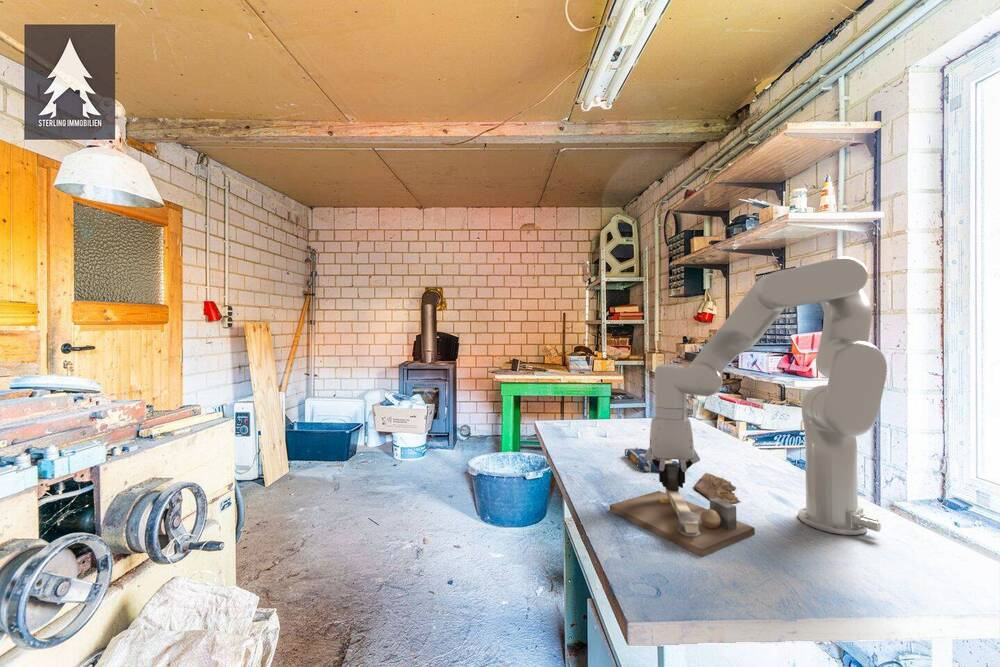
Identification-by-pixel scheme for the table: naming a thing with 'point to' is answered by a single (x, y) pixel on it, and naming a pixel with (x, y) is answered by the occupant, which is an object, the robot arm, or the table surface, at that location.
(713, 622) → the table surface
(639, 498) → the press board
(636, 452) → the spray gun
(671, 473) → the lever
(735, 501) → the wooden fragment
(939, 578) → the table surface
